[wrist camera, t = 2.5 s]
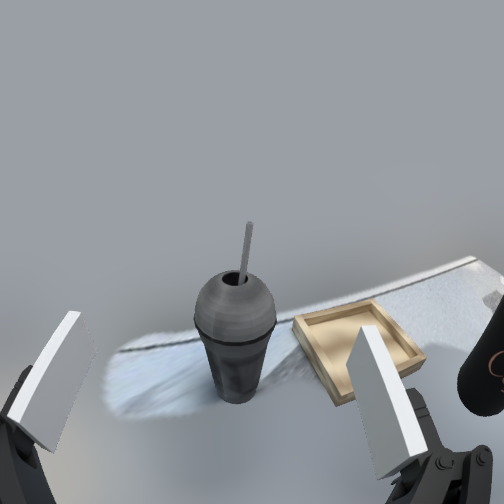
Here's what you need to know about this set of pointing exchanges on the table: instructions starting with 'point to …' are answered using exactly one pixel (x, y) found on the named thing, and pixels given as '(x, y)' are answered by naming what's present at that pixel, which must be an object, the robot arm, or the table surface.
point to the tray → (351, 343)
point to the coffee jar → (485, 370)
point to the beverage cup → (236, 328)
